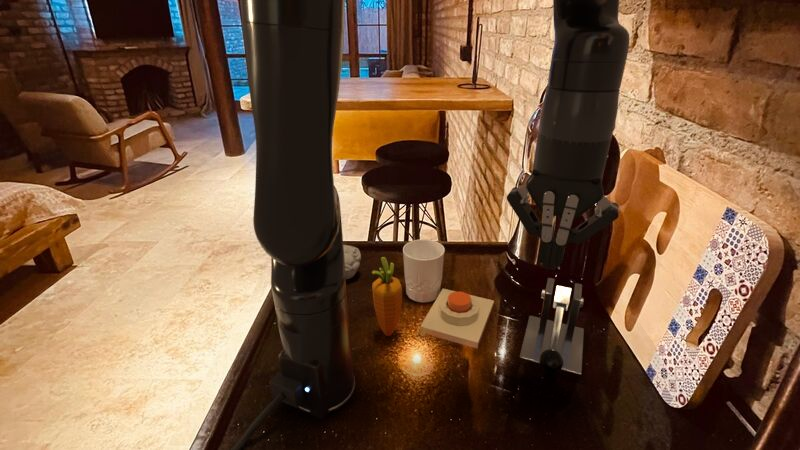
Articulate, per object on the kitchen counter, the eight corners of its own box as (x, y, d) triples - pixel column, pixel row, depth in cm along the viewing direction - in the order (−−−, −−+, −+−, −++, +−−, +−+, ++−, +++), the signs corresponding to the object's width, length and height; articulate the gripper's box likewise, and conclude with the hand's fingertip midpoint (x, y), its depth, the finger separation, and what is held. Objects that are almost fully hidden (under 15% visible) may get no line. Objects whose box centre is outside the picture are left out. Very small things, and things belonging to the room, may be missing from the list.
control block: (477, 352, 66) (479, 333, 64) (419, 336, 70) (420, 317, 68) (493, 309, 76) (495, 292, 74) (442, 297, 80) (442, 280, 78)
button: (467, 316, 69) (467, 307, 68) (444, 310, 70) (445, 302, 70) (473, 302, 72) (473, 294, 71) (451, 297, 74) (452, 289, 73)
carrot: (399, 347, 67) (398, 271, 61) (370, 343, 68) (366, 268, 62) (405, 328, 72) (404, 254, 65) (378, 324, 73) (374, 252, 66)
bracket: (580, 380, 61) (595, 317, 56) (518, 362, 64) (528, 301, 59) (582, 333, 70) (596, 276, 64) (528, 320, 73) (537, 264, 68)
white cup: (431, 309, 76) (432, 264, 72) (395, 296, 80) (394, 252, 75) (449, 288, 82) (451, 245, 78) (415, 277, 86) (415, 235, 81)
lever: (560, 378, 58) (562, 372, 55) (536, 371, 59) (538, 365, 56) (573, 296, 64) (575, 287, 61) (551, 292, 65) (553, 283, 62)
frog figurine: (368, 274, 87) (366, 245, 84) (345, 289, 82) (343, 260, 79) (347, 265, 91) (345, 237, 88) (324, 279, 86) (321, 250, 83)
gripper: (505, 131, 44) (490, 267, 52) (644, 146, 39) (604, 295, 46) (520, 118, 50) (504, 242, 58) (642, 129, 45) (607, 264, 52)
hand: (549, 265), depth 52 cm, fingers closed
